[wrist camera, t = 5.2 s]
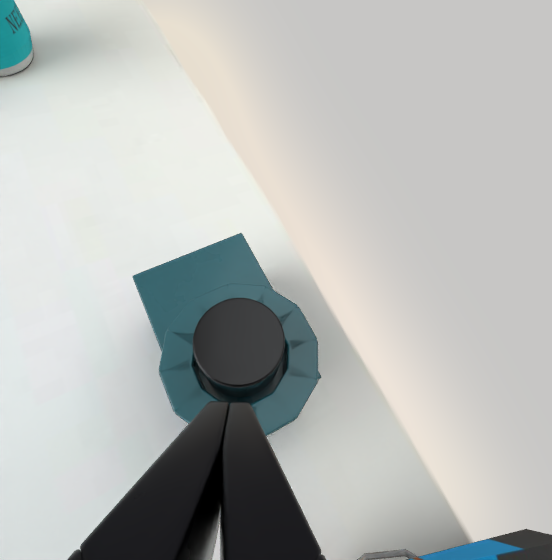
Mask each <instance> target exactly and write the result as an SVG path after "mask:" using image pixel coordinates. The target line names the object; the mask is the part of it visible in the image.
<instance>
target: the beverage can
mask: <svg viewBox="0 0 552 560" xmlns="http://www.w3.org/2000/svg"><path fill="white" fill-rule="evenodd" d="M32 58H33V48H32V41H31V36H30V31H29V28H28V26H27V24H26V22H25V20H24V19H23V17H22V15H21V13H20V11H19V9H18V7H17V5H16V4H15V2H14V0H0V76H7V75H12V74H15V73H17V72H19V71H21V70H23V69H25V68H26V67H27V66H28V65H29V64H30V62H31V61H32Z"/></svg>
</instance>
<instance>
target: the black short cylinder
mask: <svg viewBox="0 0 552 560" xmlns="http://www.w3.org/2000/svg"><path fill="white" fill-rule="evenodd" d="M192 346H193V354H194V357H195V360H196V362H197V364H198V366H199V368H200V369H201V371H202V372H203V374H204V375H205V377H206V378H207V380H208V381H209V383H210V384H211V385H212V386H213V387H214V388H215V389H216V390H218V391H219V392H221V393H223V394H225V395H228V396H231V397H248V396H252V395H254V394H257V393H259V392H260V391H262V390H263V389H265V388H266V387H267V386H268V385H269V384H270V383H271V382H272V380H273V379H274V377H275V375H276V373H277V370H278V368H279V365H280V362H281V359H282V357H283V353H284V349H285V335H284V330H283V327H282V324H281V322H280V320H279V319H278V317H277V316H276V314H275V313H274V312H273V311H272V310H271V309H270V308H269V307H267V306H266V305H264V304H263V303H261V302H259V301H256V300H253V299H249V298H231V299H227V300H224V301H221V302H219V303H217V304H215V305H214V306H212V307H211V308H210V309H208V310H207V311H206V312H205V313H204V314H203V316H202V317H201V318H200V320H199V321H198V323H197V325H196V328H195V331H194V334H193V342H192Z"/></svg>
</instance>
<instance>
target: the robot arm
mask: <svg viewBox="0 0 552 560" xmlns="http://www.w3.org/2000/svg"><path fill="white" fill-rule="evenodd" d="M220 515H221V517H220ZM219 522H220V560H326V559H325V557H324V555H321V549H320V547H319V545H318V543H317V541H316V538H315V536H314V534H313V532H312V530H311V528H310V526H309V524H308V522H307V520H306V518H305V516H304V514H303V512H302V510H301V507H300V505H299V503H298V501H297V499H296V497H295V495H294V493H293V491H292V489H291V487H290V485H289V483H288V481H287V479H286V476H285V474H284V472H283V470H282V468H281V466H280V464H279V462H278V460H277V458H276V456H275V454H274V452H273V450H272V448H271V445H270V443H269V441H268V439H267V437H266V435H265V433H264V431H263V429H262V427H261V425H260V423H259V421H258V419H257V417H256V414H255V412H254V410H253V408H252V406H251V405H250V404H249V403H247V402H232V403H230V405H229V403H228V402H222V401H210V402H208V403H207V404H206V405H205V406H204V408H203V409H202V410H201V411H200V412H199V413H198V414H197V415H196V417H195V418H194V419H193V420H192V421H191V422H190V423H189V424H188V425H187V427H186V428H185V429H184V430H183V431H182V432H181V433H180V434H179V436H178V437H177V438H176V439H175V440H174V441H173V442H172V443H171V444H170V446H169V447H168V448H167V449H166V450H165V451H164V452H163V453H162V455H161V456H160V457H159V458H158V459H157V460H156V461H155V462H154V464H153V465H152V466H151V467H150V468H149V469H148V470H147V471H146V472H145V474H144V475H143V476H142V477H141V478H140V479H139V480H138V481H137V483H136V484H135V485H134V486H133V487H132V488H131V489H130V490H129V491H128V493H127V494H126V495H125V496H124V497H123V498H122V499H121V500H120V502H119V503H118V504H117V505H116V506H115V507H114V508H113V509H112V511H111V512H110V513H109V514H108V515H107V516H106V517H105V518H104V519H103V521H102V522H101V523H100V524H99V525H98V526H97V527H96V528H95V530H94V531H93V532H92V533H91V534H90V535H89V536H88V537H87V538H86V540H85V541H84V542H83V543H82V544H81V546H80V549H81V551H80V550H76V551H74V553H73V554H72V555H71V556H70V557H69V558H68V559H67V560H212V557H213V552H214V548H215V543H216V538H217V533H218V528H219Z"/></svg>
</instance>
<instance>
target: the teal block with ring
mask: <svg viewBox="0 0 552 560" xmlns="http://www.w3.org/2000/svg"><path fill="white" fill-rule="evenodd" d="M133 280H134V282H135V285H136V287H137V290H138V292H139V295H140V297H141V300H142V303H143V305H144V308H145V310H146V313H147V315H148V318H149V320H150V323H151V325H152V328H153V331H154V333H155V336H156V338H157V341H158V343H159V346H160V348H161V351H162V355H161V361H160V366H159V375H160V377H161V380H162V382H163V385H164V388H165V390H166V393H167V396H168V398H169V401H170V403H171V406H172V409H173V411H174V412H175V413H176V415H178V416H179V417H180V418H182V419H183V420H185V421H186V422H187V423H190V422H191V421H192V420H193V419H194V418H195V417H196V415H197V414H198V413H199V412H200V411H201V410H202V409H203V408H204V406H205V405H206V404H207V403H208V402H210V401H222V402H228V403H229V405H230V403H232V402H247V403H249V404H250V405H251V406H252V408H253V410H254V412H255V414H256V417H257V419H258V421H259V423H260V425H261V427H262V429H263V431H264V433H265V435H266V436H268V435H269V434H271V433H273V432H275V431H276V430H278V429H280V428H282V427H283V426H285V425H287V424H289V423H291V422H292V421H294V420H295V419H296V418H297V417H298V416H299V414H300V412H301V410H302V408H303V407H304V405H305V403H306V401H307V400H308V398H309V396H310V394H311V393H312V391H313V389H314V387H315V386H316V384H317V382H318V380H319V379H320V378H321V375H320V373H319V372H318V342H317V338H316V336H315V334H314V332H313V331H312V329H311V327H310V325H309V324H308V322H307V320H306V318H305V317H304V315H303V313H302V311H301V310H300V308H299V307H297V305H296V304H295V303H293V302H291V301H290V300H288V299H286V298H285V297H283V296H281V295H280V294H278V293H277V292H275V291H274V290H273V289H272V287H271V285H270V283H269V281H268V279H267V278H266V276H265V274H264V272H263V270H262V269H261V267H260V265H259V263H258V261H257V260H256V258H255V256H254V254H253V252H252V251H251V249H250V247H249V245H248V243H247V242H246V240H245V238H244V236H243V234H242V233H240V234H237V235H234V236H232V237H229V238H227V239H224V240H222V241H219V242H217V243H214V244H212V245H209V246H207V247H204V248H202V249H199V250H197V251H194V252H192V253H189V254H187V255H184V256H182V257H179V258H176V259H174V260H171V261H169V262H166V263H164V264H161V265H159V266H156V267H154V268H151V269H149V270H146V271H144V272H141V273H139V274H136V275H134V276H133ZM231 298H249V299H253V300H256V301H259V302H261V303H263V304H264V305H266V306H267V307H269V308H270V309H271V310H272V311H273V312H274V313H275V314H276V316H277V317H278V319H279V320H280V322H281V324H282V327H283V330H284V335H285V349H284V353H283V357H282V359H281V362H280V365H279V368H278V370H277V373H276V375H275V377H274V379H273V380H272V382H271V383H270V384H269V385H268V386H267V387H266V388H265V389H263V390H262V391H260V392H259V393H257V394H254V395H252V396H248V397H231V396H228V395H225V394H223V393H221V392H219V391H218V390H216V389H215V388H214V387H213V386H212V385H211V384H210V383H209V381H208V380H207V378H206V377H205V375H204V374H203V372H202V371H201V369H200V368H199V366H198V364H197V362H196V360H195V357H194V354H193V346H192V342H193V334H194V331H195V328H196V325H197V323H198V321H199V320H200V318H201V317H202V316H203V314H204V313H205V312H206V311H207V310H208V309H210V308H211V307H212V306H214V305H215V304H217V303H219V302H221V301H224V300H227V299H231Z"/></svg>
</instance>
